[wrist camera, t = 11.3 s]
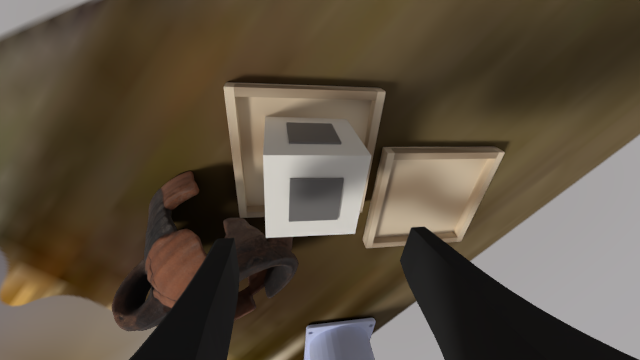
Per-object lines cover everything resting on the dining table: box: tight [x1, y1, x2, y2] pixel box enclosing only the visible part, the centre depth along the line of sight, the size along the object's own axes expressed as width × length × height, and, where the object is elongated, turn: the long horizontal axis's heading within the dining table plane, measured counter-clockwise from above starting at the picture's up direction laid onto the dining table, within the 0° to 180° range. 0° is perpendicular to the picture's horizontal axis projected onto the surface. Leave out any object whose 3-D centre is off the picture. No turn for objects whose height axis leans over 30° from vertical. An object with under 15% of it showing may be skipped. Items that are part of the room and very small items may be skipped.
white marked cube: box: [263, 116, 371, 238], centre depth 15 cm, size 5×5×5 cm
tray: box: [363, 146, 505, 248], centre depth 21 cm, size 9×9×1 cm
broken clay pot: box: [112, 171, 298, 331], centre depth 18 cm, size 12×10×8 cm
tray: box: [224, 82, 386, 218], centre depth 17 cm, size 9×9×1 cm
